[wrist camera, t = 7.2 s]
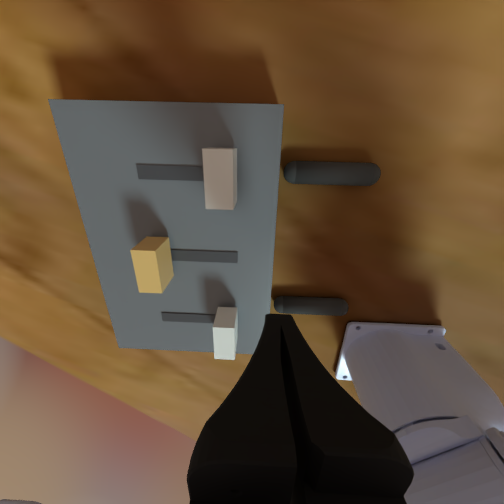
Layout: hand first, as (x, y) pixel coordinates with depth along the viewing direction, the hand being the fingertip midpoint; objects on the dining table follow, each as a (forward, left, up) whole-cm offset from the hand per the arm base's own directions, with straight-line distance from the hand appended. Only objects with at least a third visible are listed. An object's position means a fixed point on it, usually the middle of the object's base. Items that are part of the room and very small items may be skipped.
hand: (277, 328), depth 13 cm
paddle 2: (+4, +5, -6) cm, 9 cm away
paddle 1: (+3, -7, -6) cm, 10 cm away
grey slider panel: (+7, -1, -9) cm, 12 cm away
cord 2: (-4, +5, -10) cm, 12 cm away
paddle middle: (+8, -1, -6) cm, 10 cm away
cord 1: (-4, -7, -10) cm, 13 cm away
